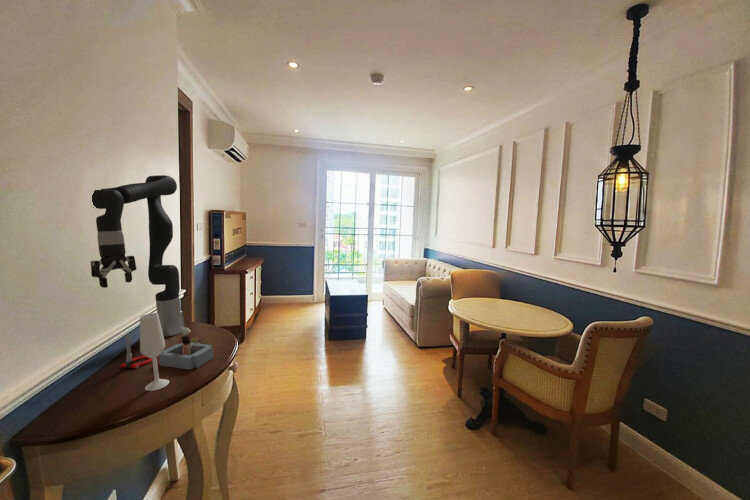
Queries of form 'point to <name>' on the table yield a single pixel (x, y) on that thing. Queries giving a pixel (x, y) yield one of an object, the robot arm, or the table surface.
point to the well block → (186, 356)
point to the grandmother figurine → (186, 341)
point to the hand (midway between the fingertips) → (117, 284)
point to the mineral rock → (195, 340)
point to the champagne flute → (152, 346)
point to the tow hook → (130, 361)
